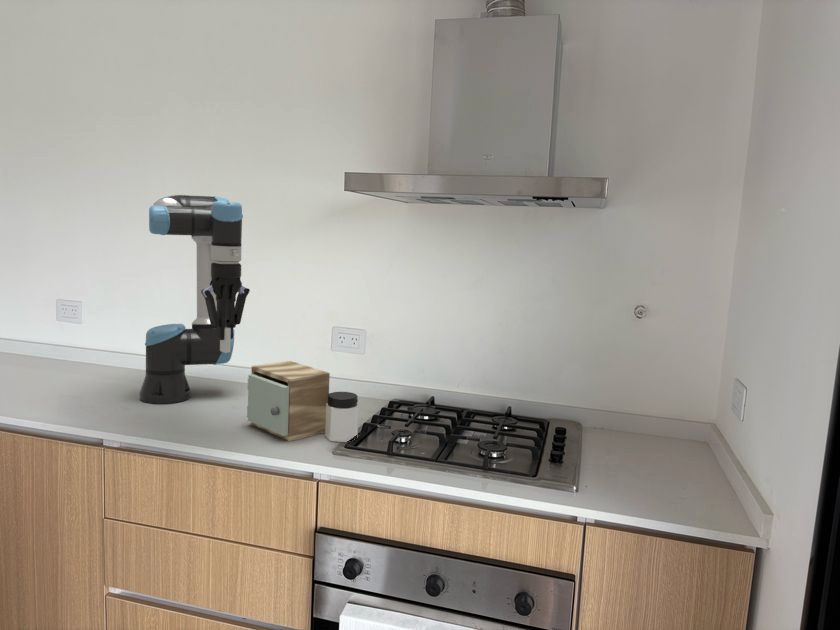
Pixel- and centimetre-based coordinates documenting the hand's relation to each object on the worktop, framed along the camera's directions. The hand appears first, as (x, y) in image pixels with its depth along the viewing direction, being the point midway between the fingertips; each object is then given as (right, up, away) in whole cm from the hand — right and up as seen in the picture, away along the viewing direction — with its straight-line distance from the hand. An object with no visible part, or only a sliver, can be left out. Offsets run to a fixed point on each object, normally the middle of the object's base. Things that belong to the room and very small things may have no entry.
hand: (225, 351), depth 176 cm
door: (+8, -21, +8) cm, 24 cm away
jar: (+30, -24, +8) cm, 39 cm away
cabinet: (+14, -22, +14) cm, 30 cm away
